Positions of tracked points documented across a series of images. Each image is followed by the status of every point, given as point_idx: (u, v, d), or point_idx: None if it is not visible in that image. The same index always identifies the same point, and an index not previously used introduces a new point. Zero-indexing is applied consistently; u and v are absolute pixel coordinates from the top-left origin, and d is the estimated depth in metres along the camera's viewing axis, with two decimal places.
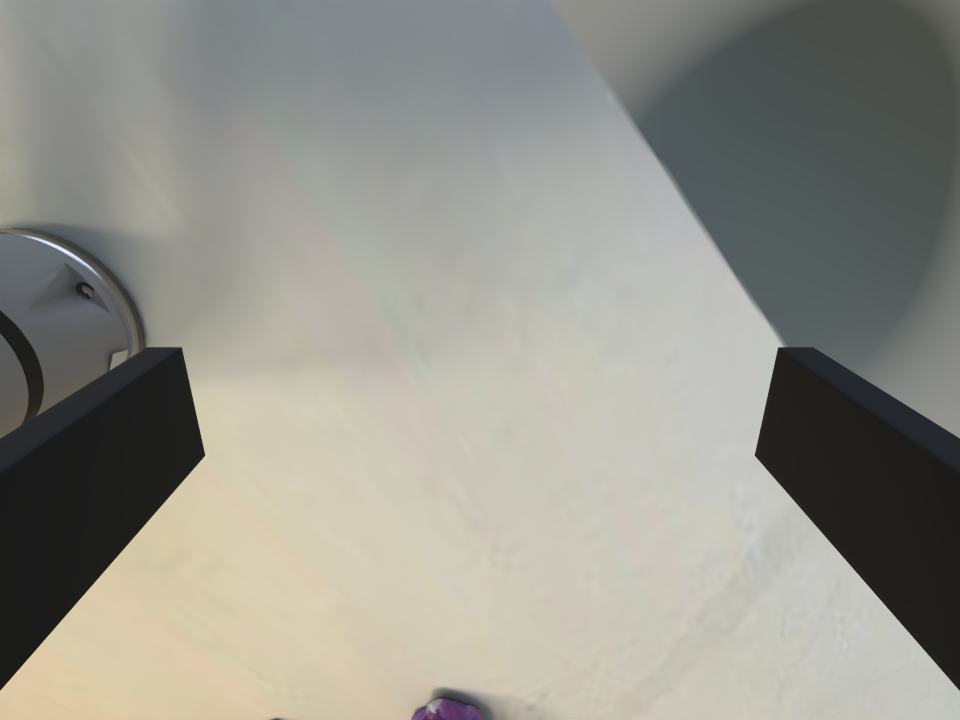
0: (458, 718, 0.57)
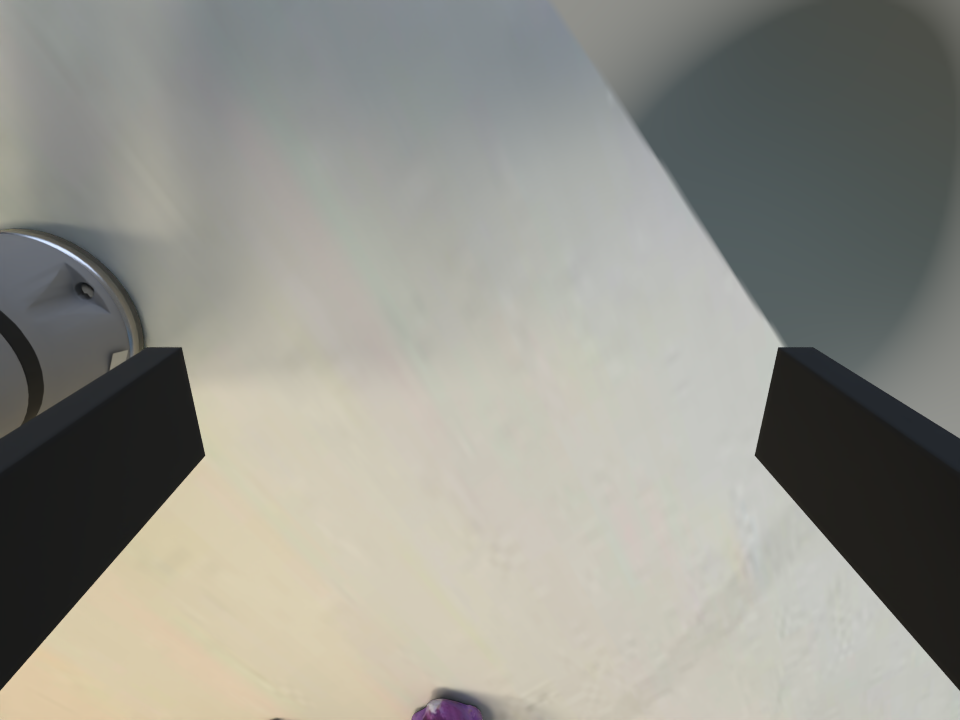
0: (458, 718, 0.57)
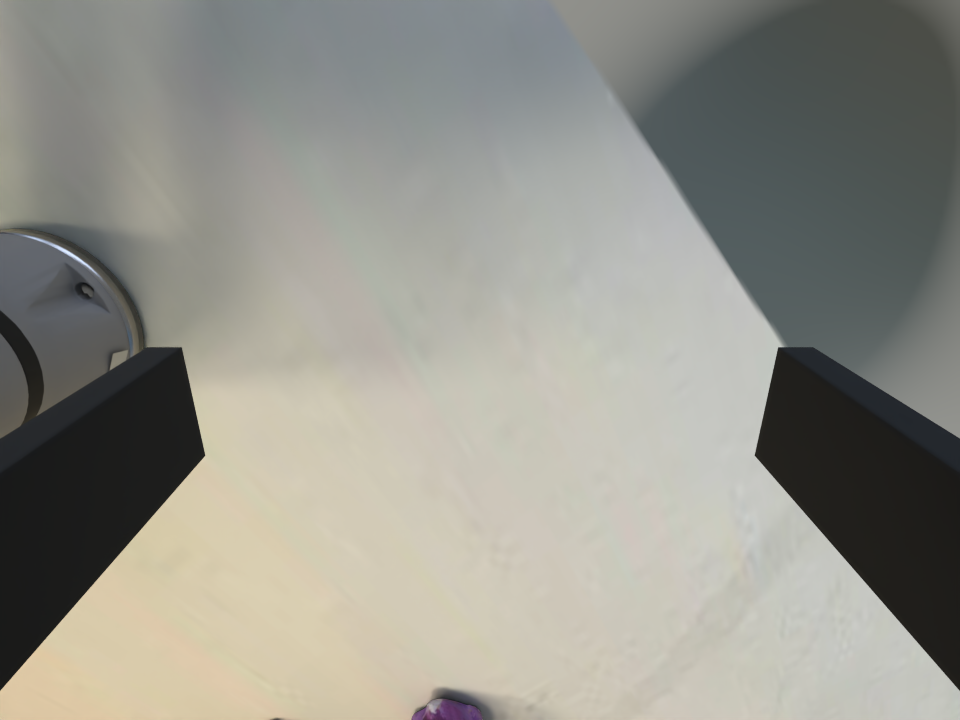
0: (458, 718, 0.57)
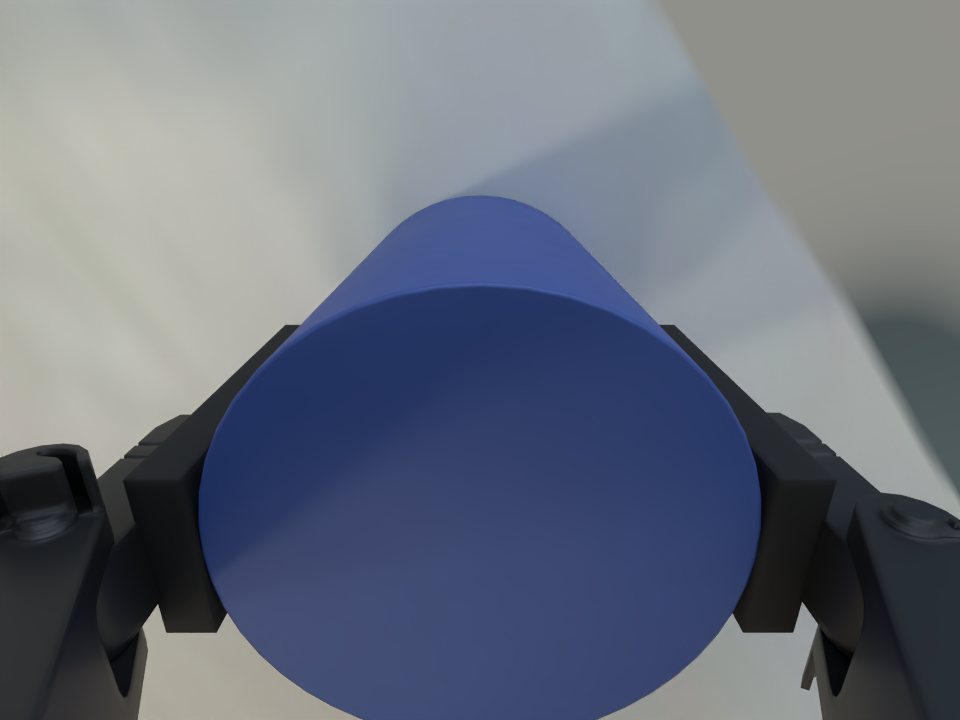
0: None
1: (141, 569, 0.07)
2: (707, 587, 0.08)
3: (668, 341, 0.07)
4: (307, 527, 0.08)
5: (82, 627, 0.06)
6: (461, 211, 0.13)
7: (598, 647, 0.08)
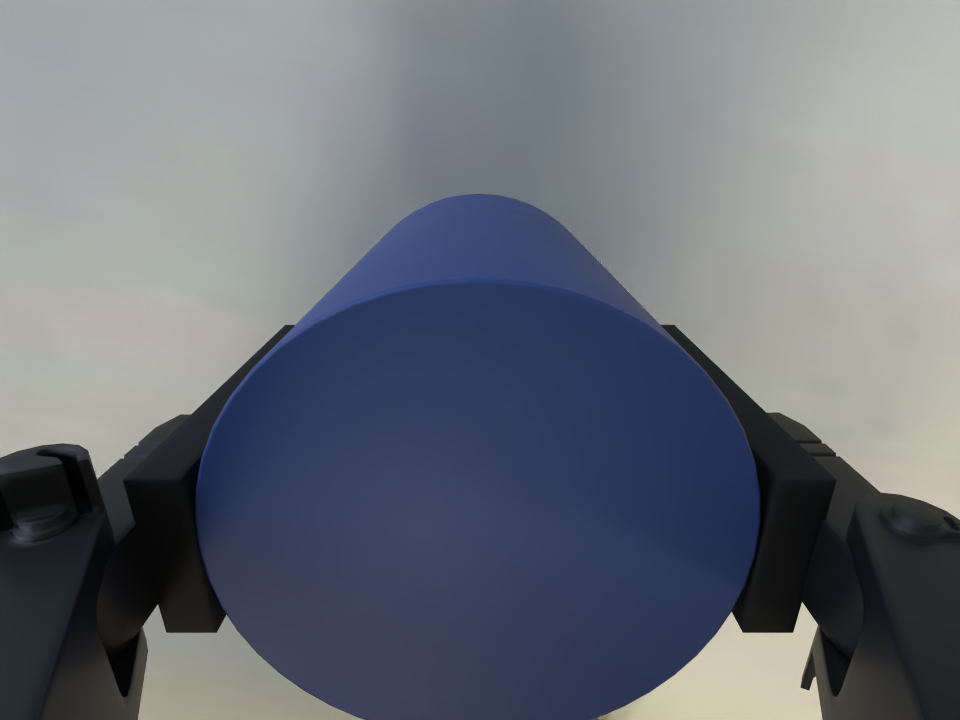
0: None
1: (141, 569, 0.07)
2: (706, 585, 0.08)
3: (666, 337, 0.07)
4: (305, 526, 0.08)
5: (81, 627, 0.06)
6: (460, 209, 0.13)
7: (596, 646, 0.08)
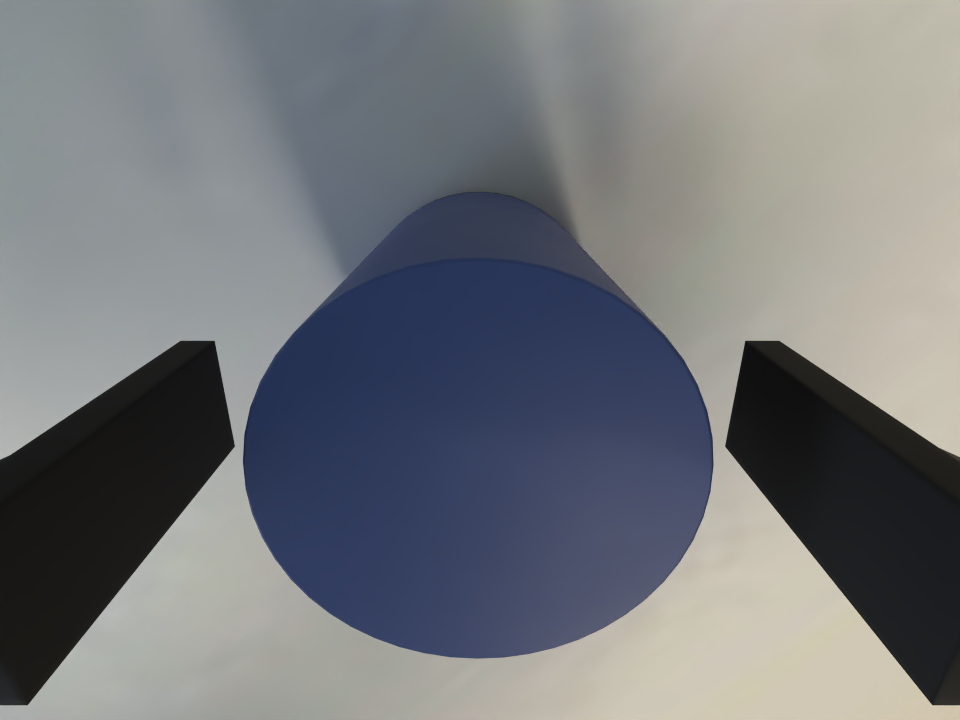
0: None
1: None
2: (669, 519, 0.09)
3: (631, 307, 0.08)
4: (333, 466, 0.09)
5: None
6: (462, 205, 0.14)
7: (578, 573, 0.10)
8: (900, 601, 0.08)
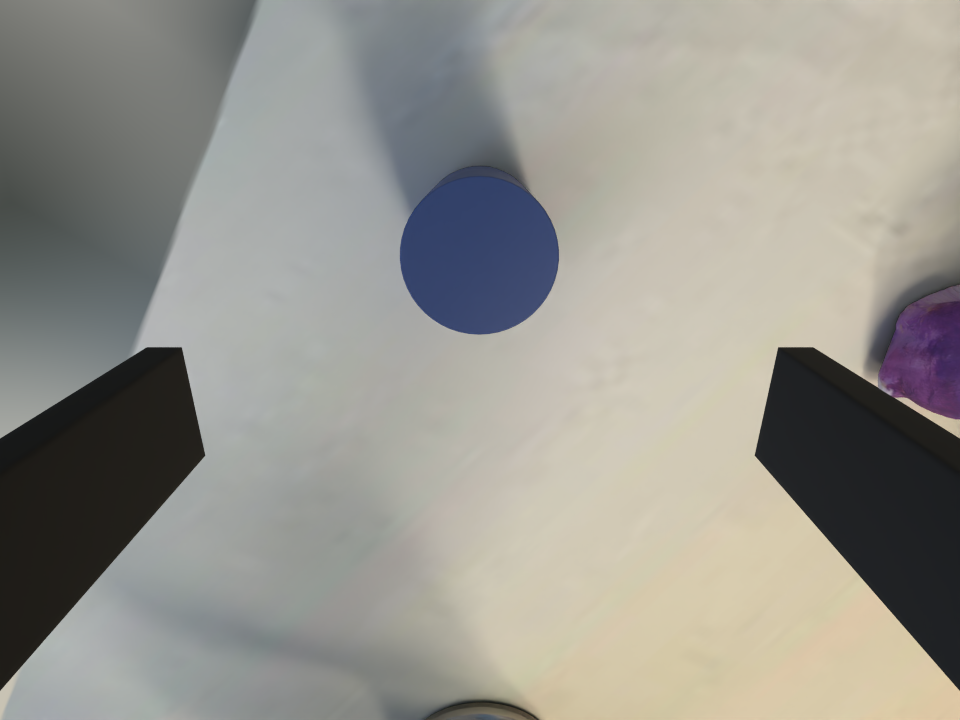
0: (900, 358, 0.38)
1: None
2: (545, 271, 0.27)
3: (527, 192, 0.26)
4: (430, 249, 0.27)
5: None
6: None
7: (515, 294, 0.28)
8: None
